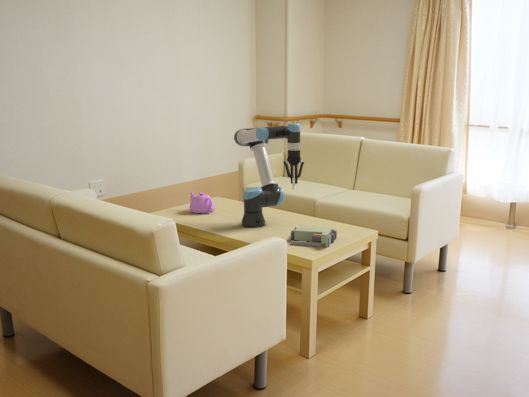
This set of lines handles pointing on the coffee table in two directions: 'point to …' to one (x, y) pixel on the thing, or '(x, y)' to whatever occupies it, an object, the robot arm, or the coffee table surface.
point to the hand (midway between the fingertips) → (294, 188)
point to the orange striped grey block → (316, 238)
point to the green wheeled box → (308, 231)
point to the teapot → (201, 203)
